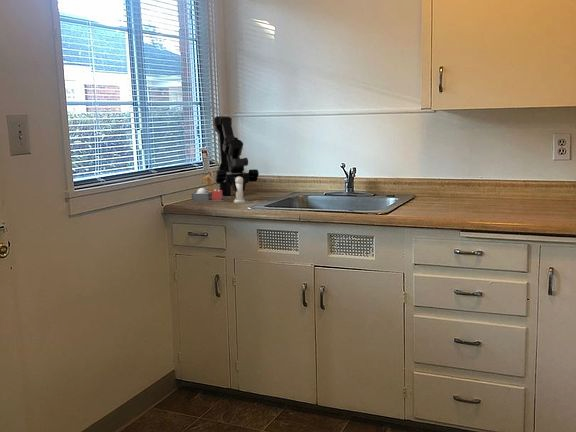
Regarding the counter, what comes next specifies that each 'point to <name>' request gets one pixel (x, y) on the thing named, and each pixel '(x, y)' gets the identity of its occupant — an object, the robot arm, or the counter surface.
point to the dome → (201, 191)
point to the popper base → (208, 196)
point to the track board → (255, 201)
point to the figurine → (208, 181)
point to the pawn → (239, 190)
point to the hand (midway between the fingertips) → (240, 190)
